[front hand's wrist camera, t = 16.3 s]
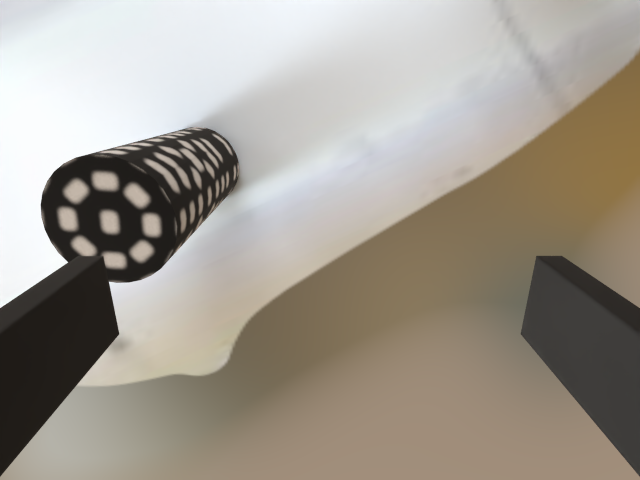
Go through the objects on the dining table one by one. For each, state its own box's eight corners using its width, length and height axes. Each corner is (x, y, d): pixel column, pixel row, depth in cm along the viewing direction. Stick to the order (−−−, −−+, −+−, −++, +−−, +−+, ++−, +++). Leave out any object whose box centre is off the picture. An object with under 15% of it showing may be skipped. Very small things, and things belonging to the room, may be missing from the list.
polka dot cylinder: (159, 124, 42) (29, 149, 23) (239, 130, 42) (173, 159, 23) (164, 200, 45) (52, 278, 26) (238, 206, 45) (180, 286, 26)
